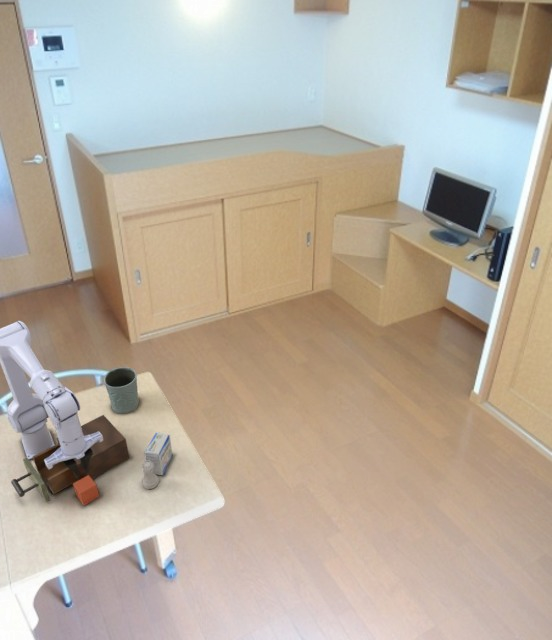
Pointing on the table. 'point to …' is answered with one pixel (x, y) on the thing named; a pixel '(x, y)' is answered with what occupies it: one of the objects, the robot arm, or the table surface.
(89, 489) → the block
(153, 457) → the medicine box
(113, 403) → the grey-green pot
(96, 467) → the cabinet
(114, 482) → the table surface
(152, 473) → the rook chess piece
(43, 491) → the drawer
